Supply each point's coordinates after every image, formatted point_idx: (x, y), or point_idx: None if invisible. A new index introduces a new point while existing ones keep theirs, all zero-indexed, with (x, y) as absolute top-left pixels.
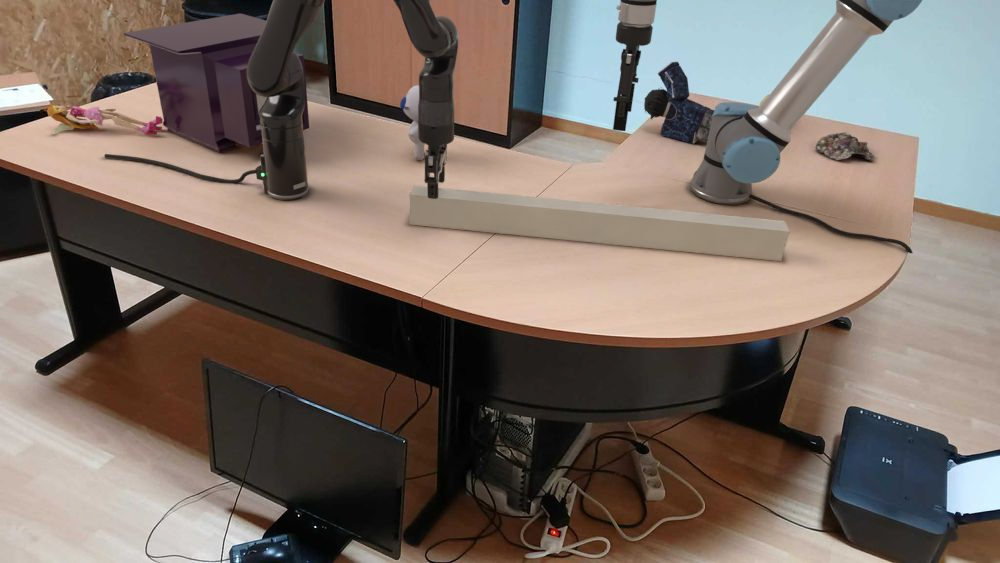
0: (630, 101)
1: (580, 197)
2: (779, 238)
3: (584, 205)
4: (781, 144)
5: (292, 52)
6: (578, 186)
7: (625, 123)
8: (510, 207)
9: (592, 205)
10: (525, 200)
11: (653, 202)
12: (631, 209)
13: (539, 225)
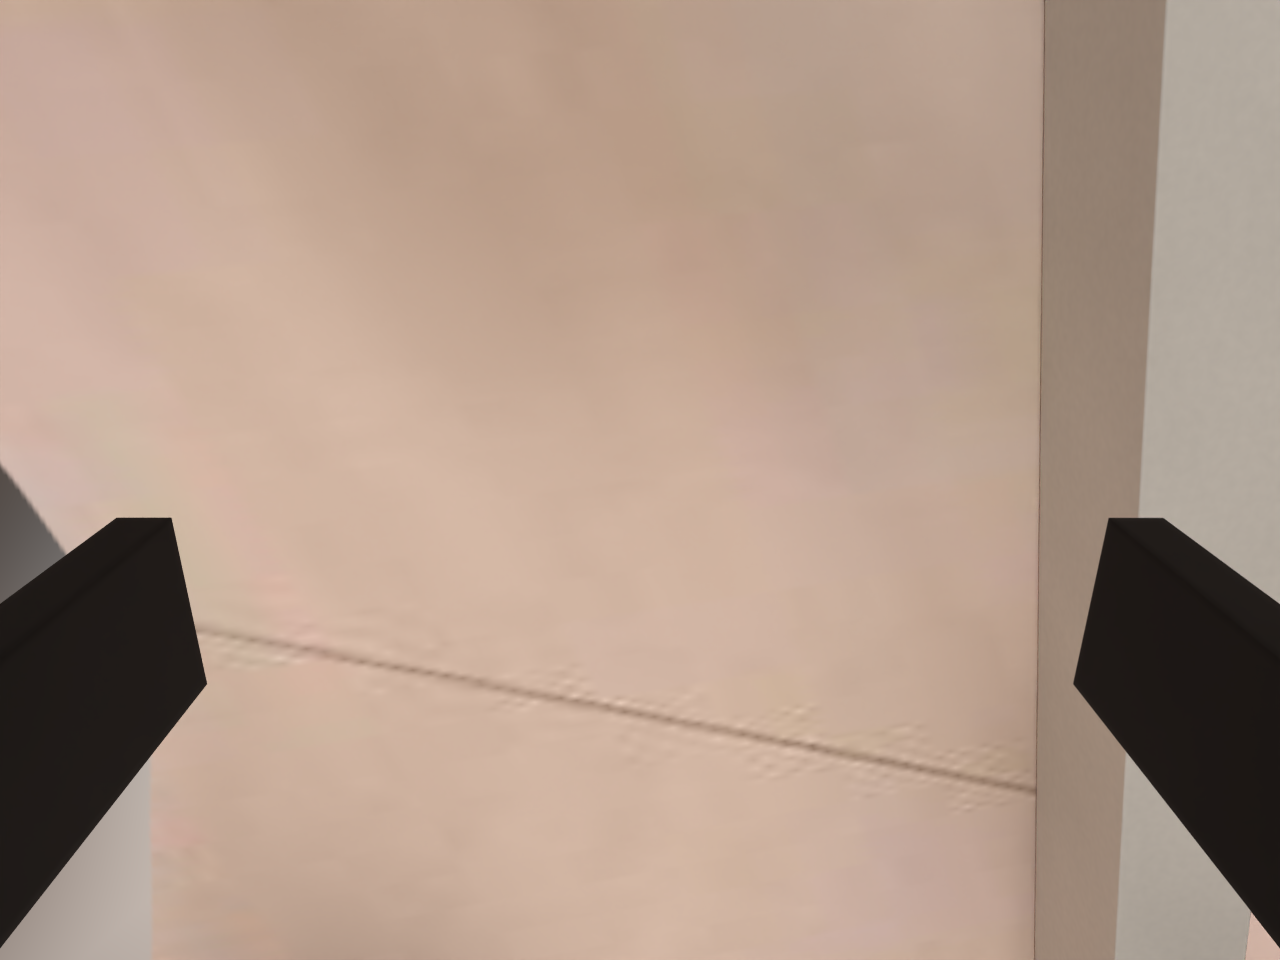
0: (69, 639)
1: (586, 506)
2: None
3: (1204, 509)
4: None
5: None
6: (432, 539)
7: (1241, 590)
8: None
9: (1193, 457)
10: (1185, 834)
11: (460, 12)
12: (1220, 163)
13: None
